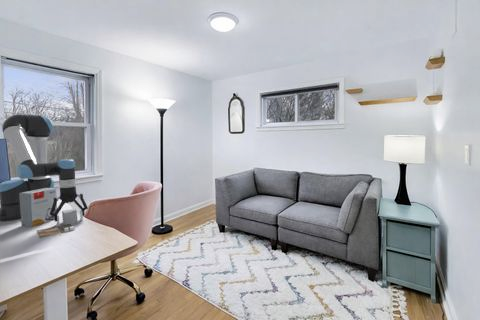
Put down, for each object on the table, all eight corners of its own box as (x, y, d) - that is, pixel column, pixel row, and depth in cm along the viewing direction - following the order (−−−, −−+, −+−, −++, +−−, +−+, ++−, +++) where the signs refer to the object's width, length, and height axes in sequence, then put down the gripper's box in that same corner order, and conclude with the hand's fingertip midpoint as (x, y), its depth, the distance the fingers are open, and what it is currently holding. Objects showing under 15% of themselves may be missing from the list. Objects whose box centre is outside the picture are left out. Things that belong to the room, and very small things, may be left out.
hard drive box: (32, 229, 132) (29, 193, 130) (20, 228, 133) (17, 193, 131) (58, 220, 147) (56, 187, 145) (48, 219, 148) (46, 187, 146)
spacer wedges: (64, 230, 126) (63, 228, 126) (73, 228, 129) (73, 226, 129) (64, 231, 125) (64, 229, 125) (74, 229, 128) (74, 227, 128)
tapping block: (62, 224, 139) (62, 211, 139) (75, 221, 144) (74, 208, 143) (65, 227, 135) (64, 213, 134) (77, 224, 139) (76, 210, 139)
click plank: (37, 232, 126) (37, 230, 126) (56, 229, 132) (56, 226, 132) (40, 239, 118) (40, 236, 118) (60, 235, 123) (60, 233, 123)
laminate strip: (57, 228, 132) (56, 226, 132) (70, 226, 137) (69, 223, 137) (61, 235, 124) (61, 232, 124) (75, 232, 128) (75, 229, 128)
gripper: (43, 190, 127) (46, 231, 128) (92, 184, 143) (94, 220, 145) (41, 188, 132) (44, 227, 134) (89, 183, 148) (91, 217, 150)
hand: (70, 224), depth 139 cm, fingers open, 10 cm apart
